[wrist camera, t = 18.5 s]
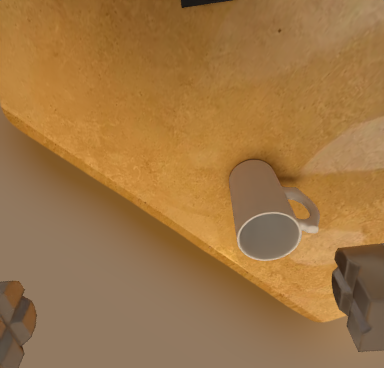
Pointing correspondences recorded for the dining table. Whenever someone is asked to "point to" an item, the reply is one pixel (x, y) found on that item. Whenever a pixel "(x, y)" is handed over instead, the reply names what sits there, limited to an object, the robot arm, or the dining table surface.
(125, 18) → the dining table surface
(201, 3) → the mat
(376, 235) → the dining table surface
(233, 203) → the mug
